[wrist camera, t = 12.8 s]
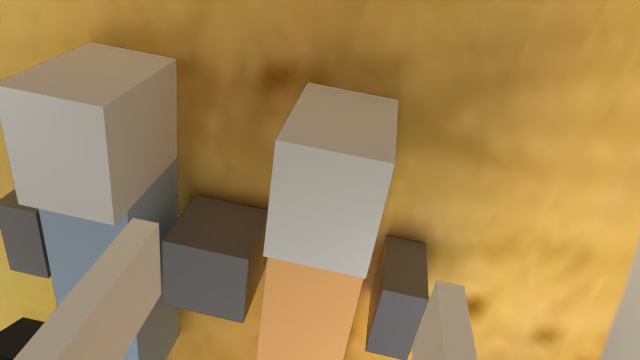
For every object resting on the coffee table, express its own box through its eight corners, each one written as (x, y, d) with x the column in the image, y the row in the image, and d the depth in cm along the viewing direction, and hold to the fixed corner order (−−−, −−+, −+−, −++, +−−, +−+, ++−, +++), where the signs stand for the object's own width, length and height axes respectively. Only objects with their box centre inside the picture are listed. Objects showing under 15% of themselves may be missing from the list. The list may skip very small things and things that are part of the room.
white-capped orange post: (270, 354, 30) (242, 447, 25) (307, 82, 21) (275, 139, 16) (333, 369, 30) (317, 466, 25) (398, 99, 21) (395, 163, 16)
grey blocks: (60, 224, 27) (10, 269, 24) (50, 163, 25) (-6, 203, 22) (406, 301, 26) (406, 360, 23) (425, 243, 24) (428, 299, 21)
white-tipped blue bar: (119, 320, 31) (61, 403, 26) (91, 41, 22) (-8, 84, 16) (178, 334, 31) (132, 421, 25) (176, 58, 21) (103, 107, 16)
